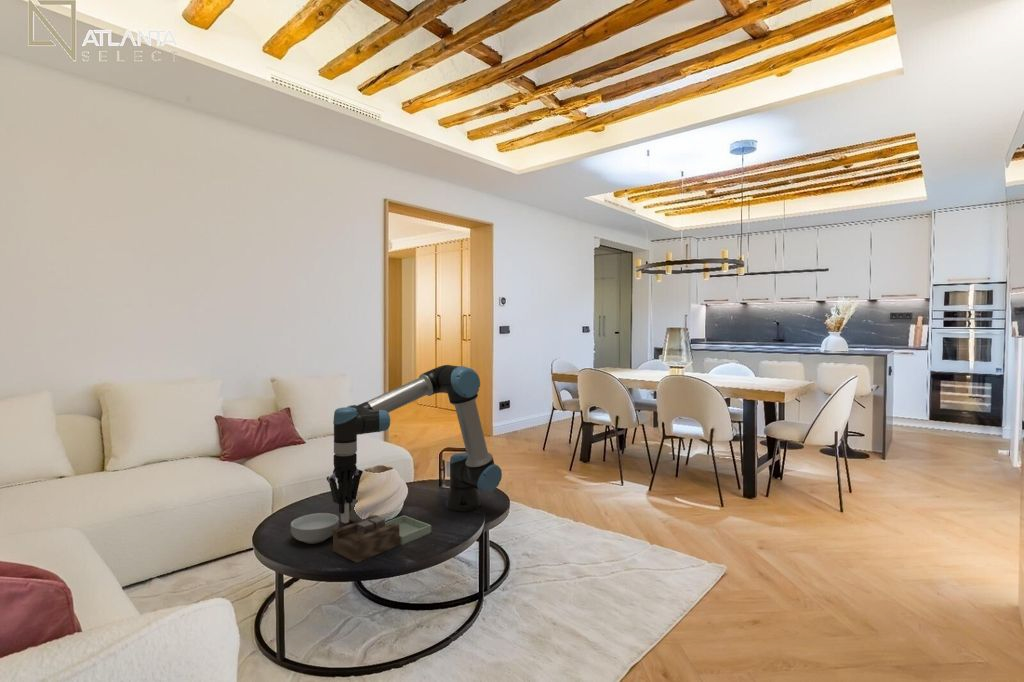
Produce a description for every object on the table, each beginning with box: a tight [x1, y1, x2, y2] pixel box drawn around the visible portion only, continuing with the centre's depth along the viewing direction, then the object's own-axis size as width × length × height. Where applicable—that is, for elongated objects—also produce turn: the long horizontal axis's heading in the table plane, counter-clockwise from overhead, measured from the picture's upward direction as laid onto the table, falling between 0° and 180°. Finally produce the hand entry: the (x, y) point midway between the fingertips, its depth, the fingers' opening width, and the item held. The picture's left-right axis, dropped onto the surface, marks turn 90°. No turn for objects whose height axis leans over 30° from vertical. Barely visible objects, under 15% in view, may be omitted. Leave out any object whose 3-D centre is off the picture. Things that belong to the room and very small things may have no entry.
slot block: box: [332, 515, 401, 564], centre depth 184 cm, size 18×14×8 cm
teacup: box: [345, 499, 362, 523], centre depth 209 cm, size 14×11×8 cm
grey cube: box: [369, 516, 386, 531], centre depth 188 cm, size 4×4×4 cm
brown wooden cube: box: [357, 521, 374, 536], centre depth 184 cm, size 4×4×4 cm
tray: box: [385, 514, 432, 546], centre depth 197 cm, size 14×16×3 cm
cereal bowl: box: [290, 512, 340, 545], centre depth 191 cm, size 17×17×7 cm
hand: (344, 521), depth 177 cm, fingers closed
